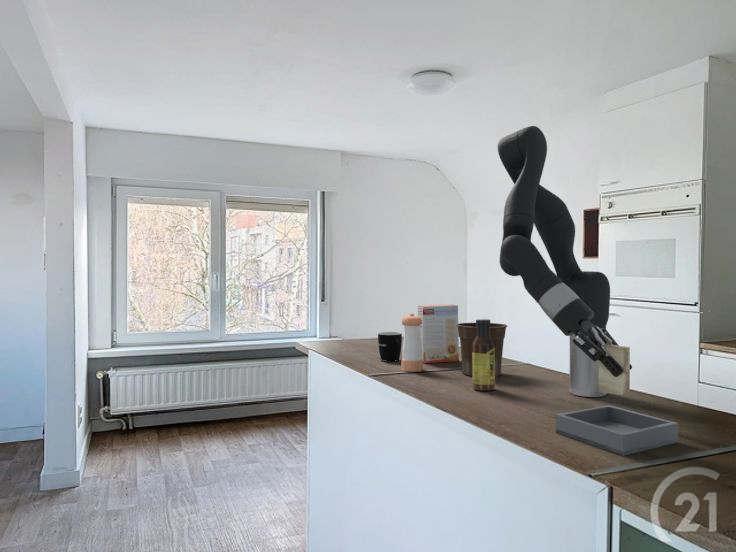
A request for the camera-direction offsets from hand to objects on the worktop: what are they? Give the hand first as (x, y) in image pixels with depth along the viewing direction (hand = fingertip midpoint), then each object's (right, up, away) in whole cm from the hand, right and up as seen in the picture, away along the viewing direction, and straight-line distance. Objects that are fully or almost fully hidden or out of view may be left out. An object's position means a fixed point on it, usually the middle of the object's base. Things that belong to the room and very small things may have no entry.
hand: (624, 372), depth 108 cm
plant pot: (-14, -13, +68) cm, 71 cm away
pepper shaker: (-36, -13, +76) cm, 85 cm away
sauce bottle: (-18, -13, +46) cm, 51 cm away
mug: (-42, -13, +94) cm, 104 cm away
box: (-1, -13, +1) cm, 14 cm away
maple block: (-1, -4, +1) cm, 5 cm away
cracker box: (-25, -13, +92) cm, 96 cm away
